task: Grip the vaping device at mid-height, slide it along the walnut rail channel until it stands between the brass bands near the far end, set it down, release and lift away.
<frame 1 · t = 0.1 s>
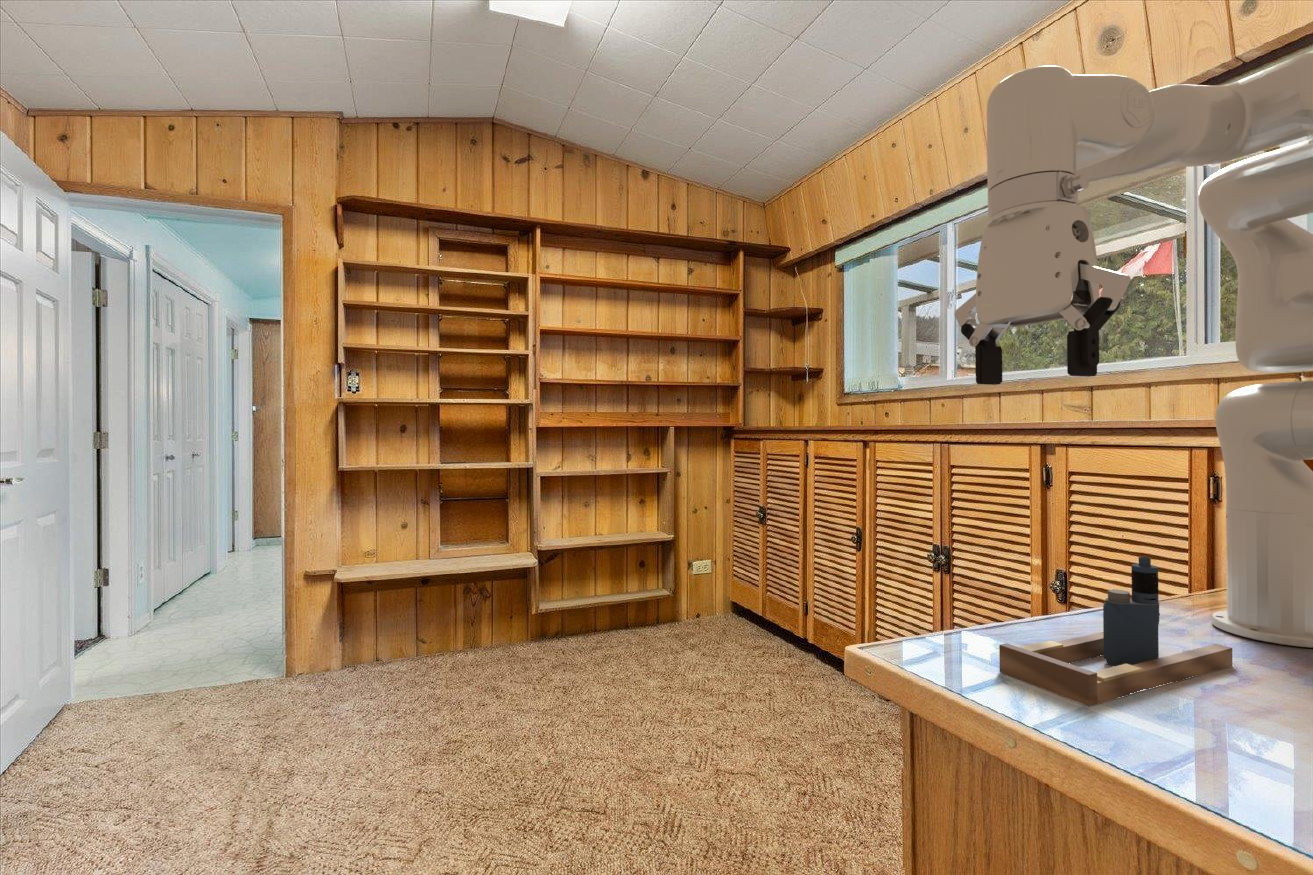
hand: (1032, 380, 62), 31 cm above the table, tool pointing down, fingers open, 9 cm apart
vaping device: (1131, 667, 70), resting in rail channel
rail channel: (1120, 668, 69), on the table
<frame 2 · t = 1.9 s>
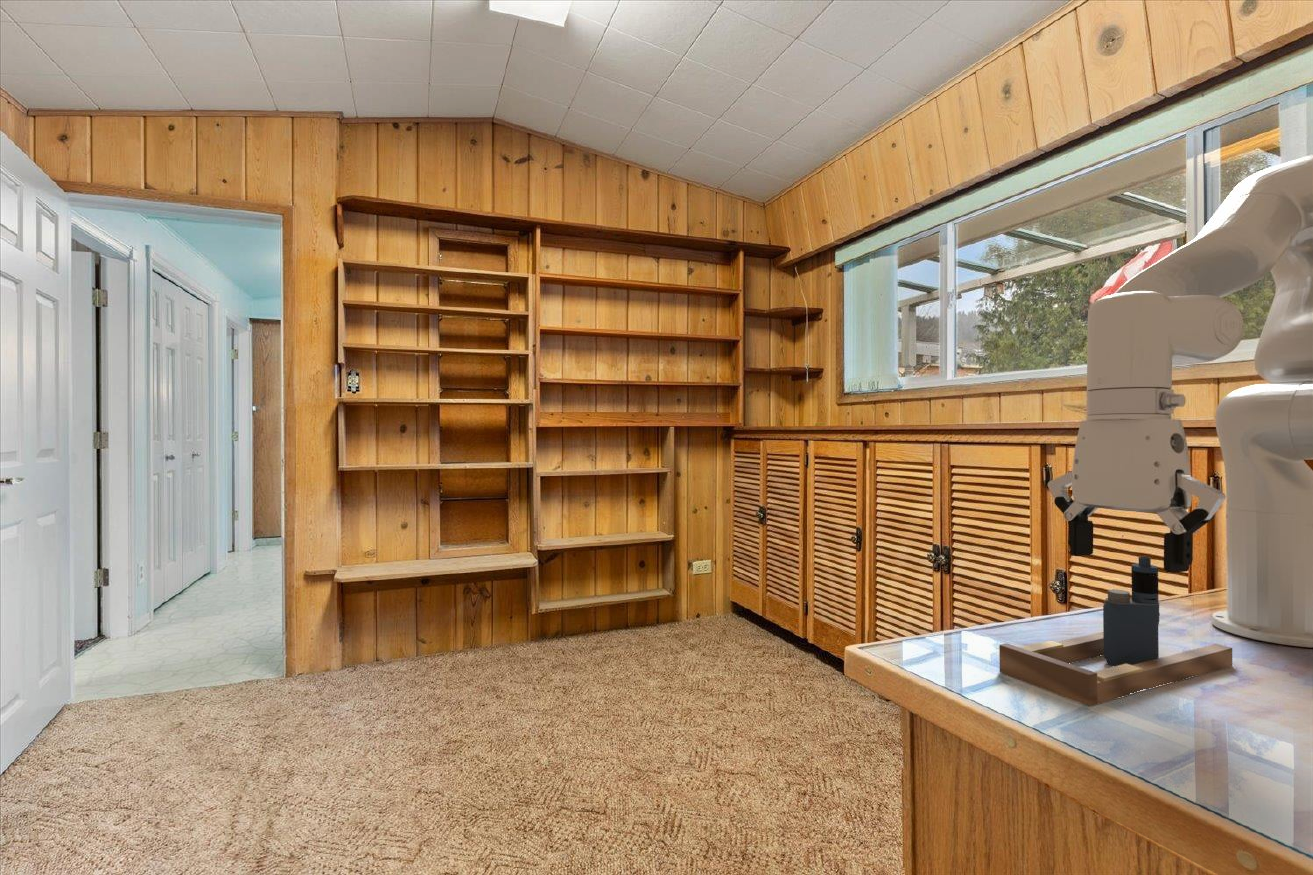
hand: (1125, 562, 70), 11 cm above the table, tool pointing down, fingers open, 9 cm apart
nothing on the table moved.
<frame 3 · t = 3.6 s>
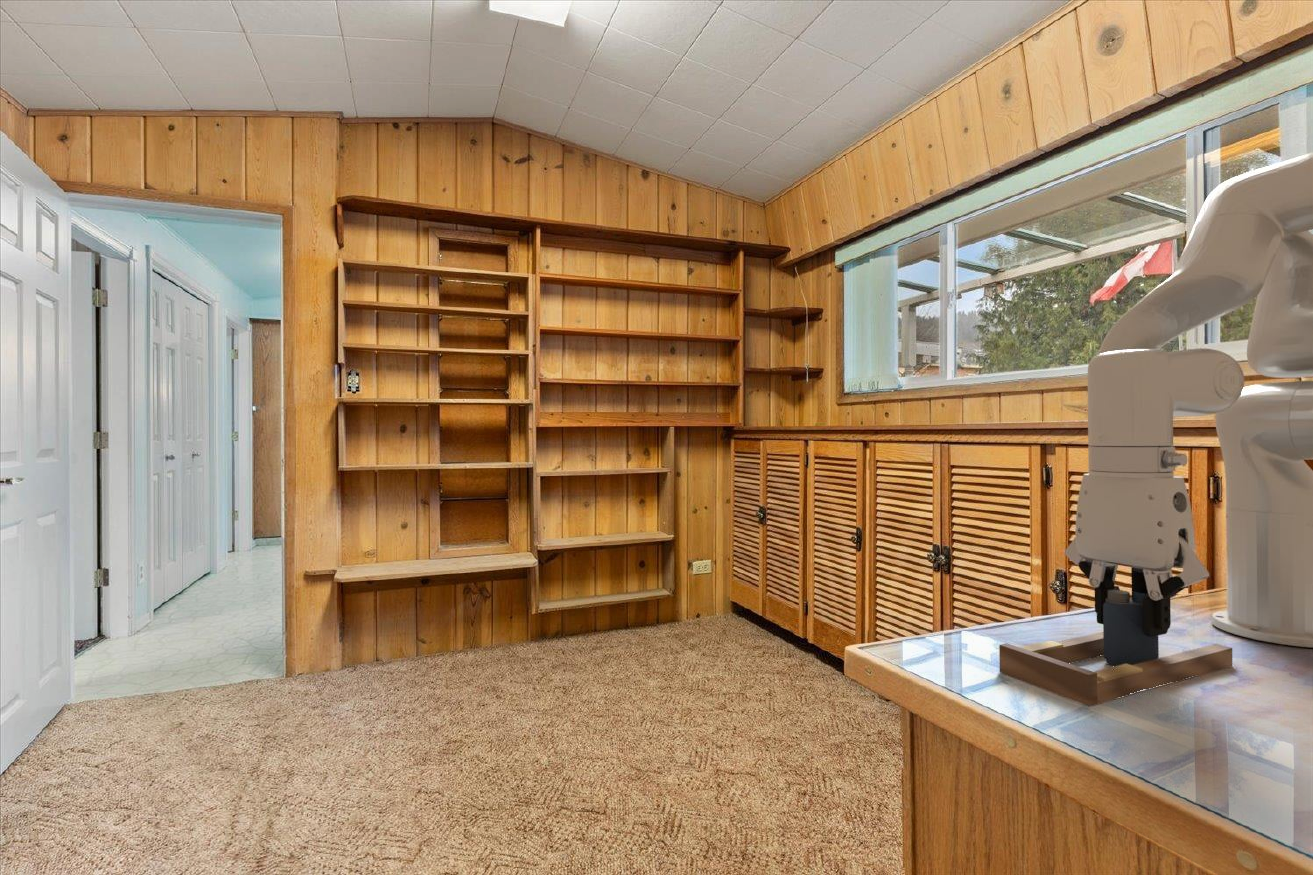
hand: (1131, 626, 70), 4 cm above the table, tool pointing down, fingers closed on vaping device, 4 cm apart
vaping device: (1131, 667, 70), resting in rail channel, touching gripper
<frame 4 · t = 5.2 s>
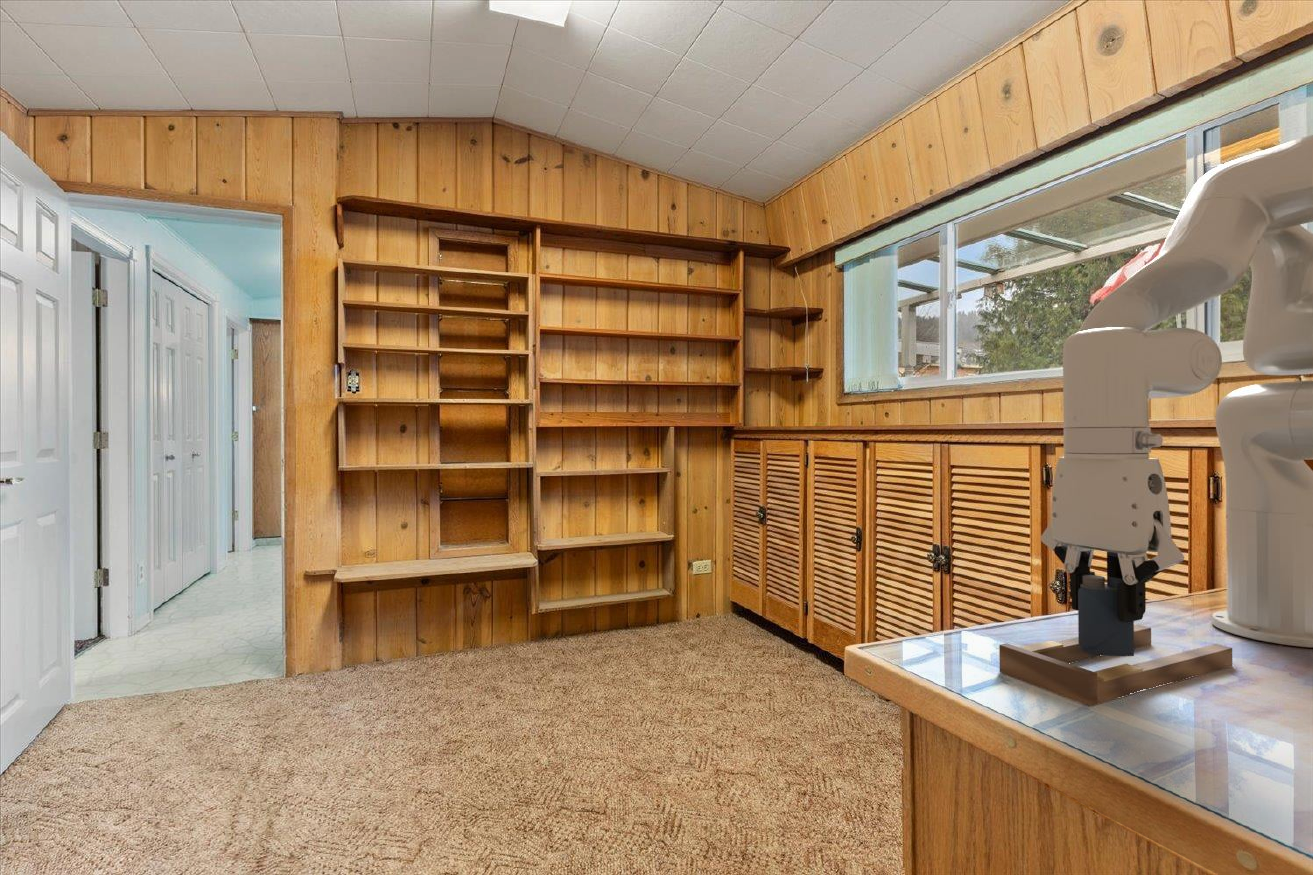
hand: (1106, 612, 68), 6 cm above the table, tool pointing down, fingers closed on vaping device, 4 cm apart
vaping device: (1106, 654, 68), point 2 cm above the table, touching gripper
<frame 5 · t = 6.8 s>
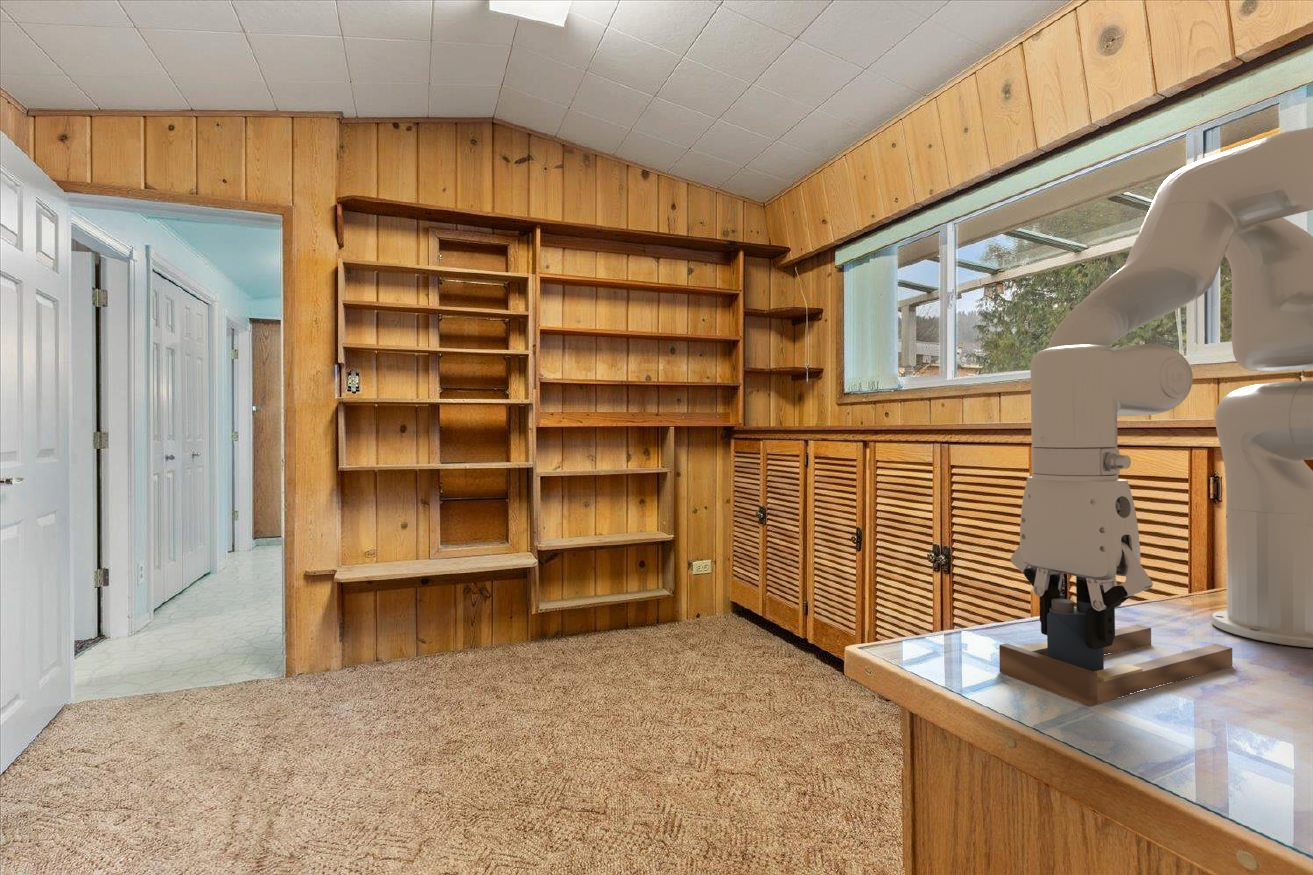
hand: (1075, 637, 66), 4 cm above the table, tool pointing down, fingers closed on vaping device, 4 cm apart
vaping device: (1076, 680, 66), resting in rail channel, touching gripper
when the fingers open (4 cm above the table, at t = 7.2 s): vaping device stays where it is, resting in rail channel.
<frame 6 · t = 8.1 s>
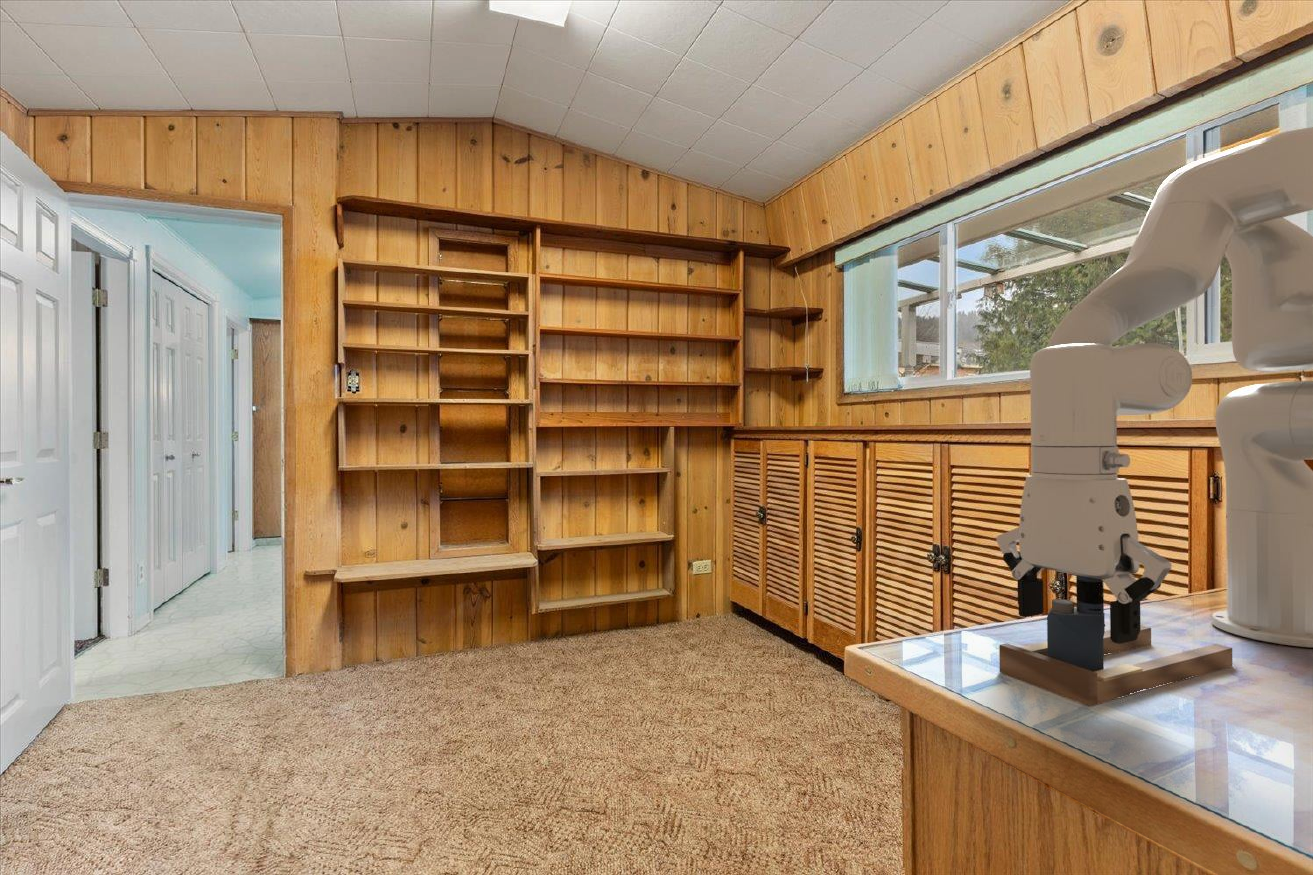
hand: (1074, 627, 66), 6 cm above the table, tool pointing down, fingers open, 9 cm apart
vaping device: (1076, 681, 66), resting in rail channel
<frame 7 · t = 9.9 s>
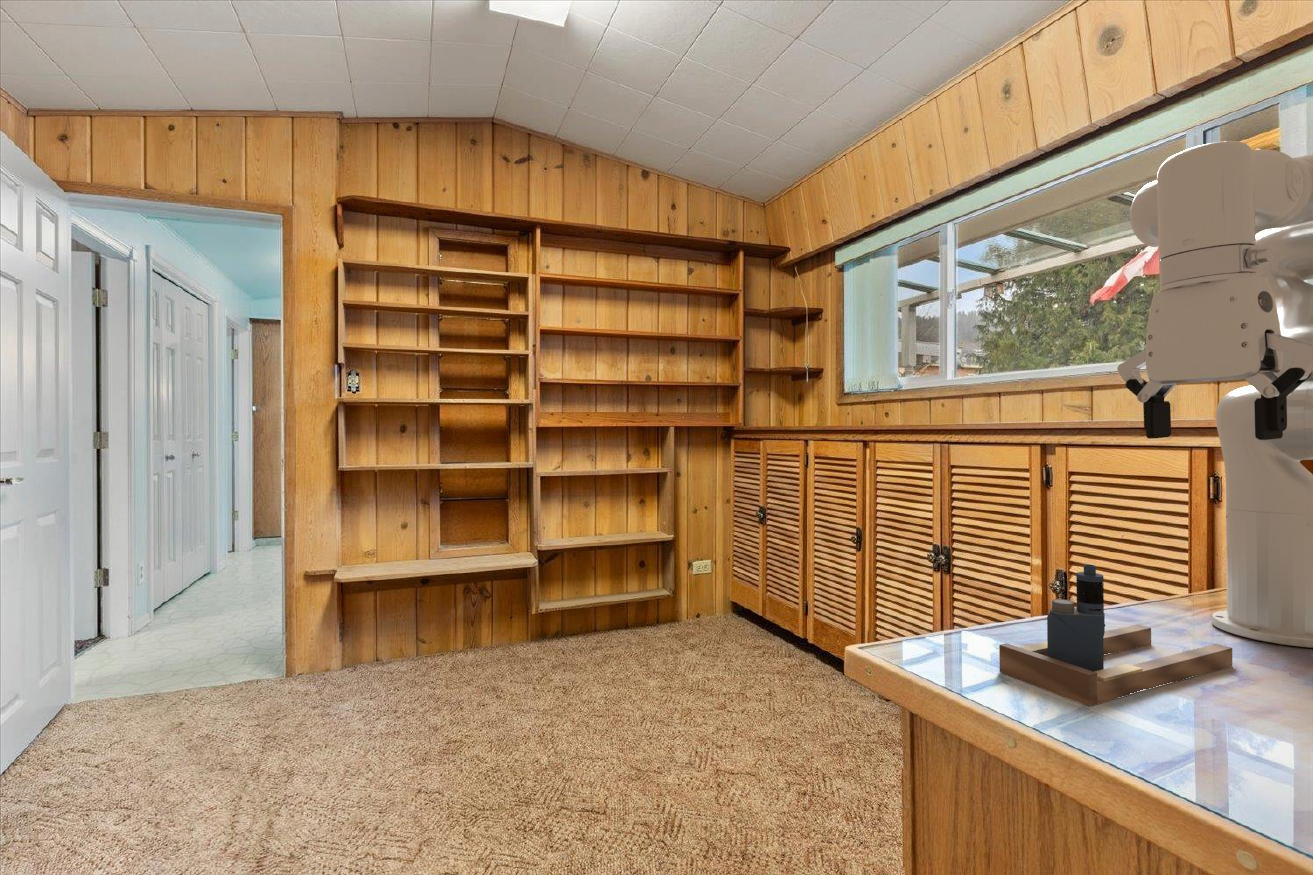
hand: (1210, 438, 66), 25 cm above the table, tool pointing down, fingers open, 9 cm apart
nothing on the table moved.
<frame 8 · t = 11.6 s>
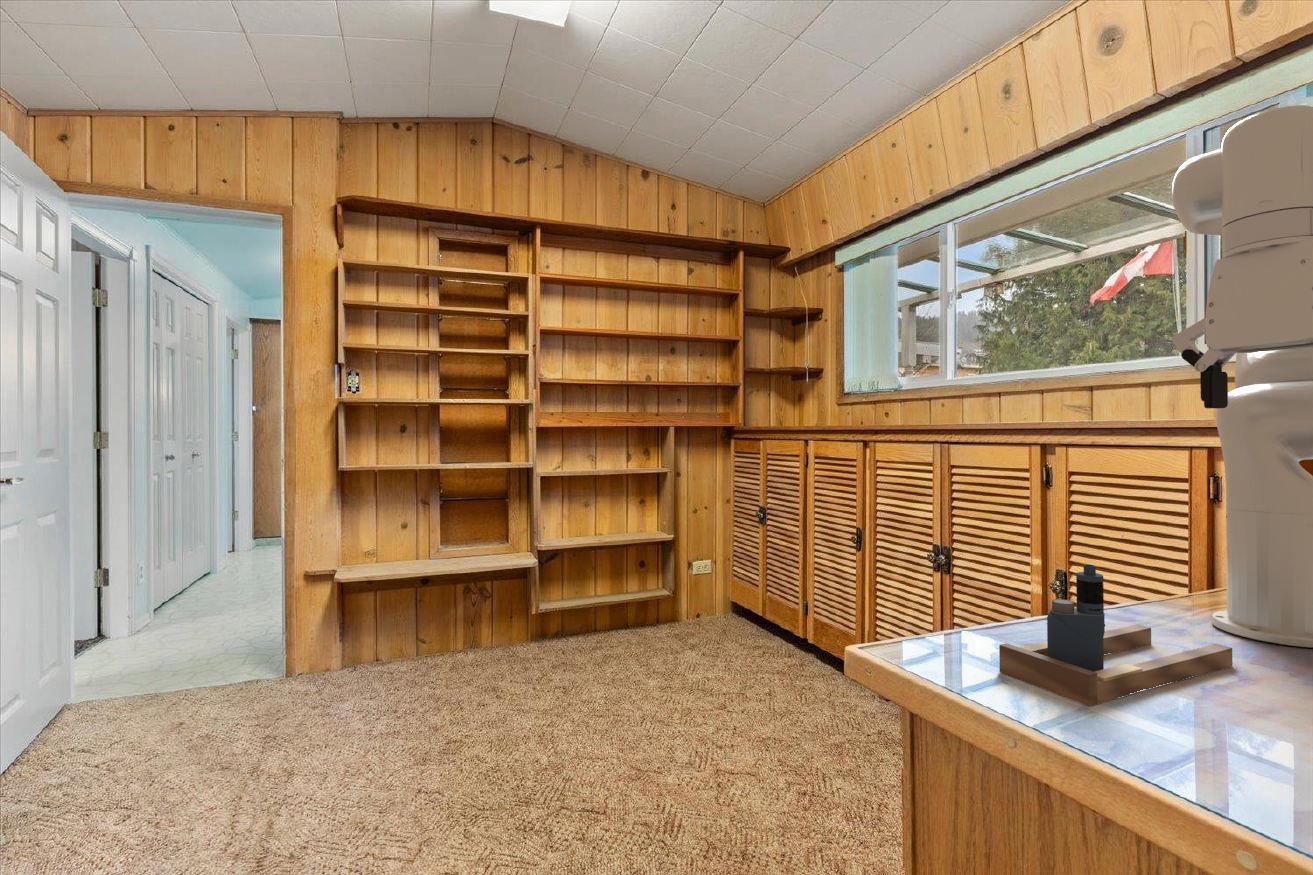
hand: (1272, 406, 65), 28 cm above the table, tool pointing down, fingers open, 9 cm apart
nothing on the table moved.
at the end: vaping device inside the target area (0.5 cm from its centre), resting in rail channel; vaping device tilted 0°; the gripper is holding nothing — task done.
